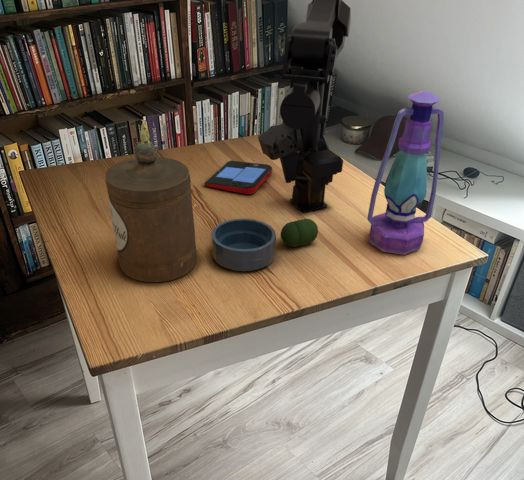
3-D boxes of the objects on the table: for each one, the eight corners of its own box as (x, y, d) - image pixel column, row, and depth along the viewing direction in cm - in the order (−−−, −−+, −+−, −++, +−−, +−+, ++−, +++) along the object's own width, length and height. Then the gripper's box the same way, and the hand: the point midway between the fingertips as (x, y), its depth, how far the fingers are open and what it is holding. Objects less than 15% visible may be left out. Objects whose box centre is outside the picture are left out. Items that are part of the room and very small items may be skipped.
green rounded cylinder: (308, 232, 119) (311, 212, 116) (320, 245, 116) (324, 224, 113) (275, 240, 116) (277, 219, 113) (286, 253, 113) (289, 232, 110)
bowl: (257, 235, 118) (258, 213, 115) (285, 264, 110) (287, 242, 107) (202, 248, 114) (201, 226, 111) (227, 279, 106) (227, 256, 102)
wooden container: (128, 240, 115) (112, 132, 101) (200, 243, 115) (194, 135, 101) (111, 281, 104) (90, 167, 90) (191, 285, 104) (183, 170, 89)
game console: (229, 164, 145) (228, 156, 143) (275, 173, 141) (275, 165, 140) (203, 186, 135) (203, 178, 133) (252, 197, 131) (252, 188, 130)
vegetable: (158, 220, 122) (148, 126, 109) (139, 217, 123) (127, 124, 109) (165, 210, 125) (156, 119, 112) (146, 208, 126) (135, 117, 113)
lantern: (414, 226, 123) (447, 80, 103) (435, 254, 114) (475, 100, 94) (355, 230, 121) (378, 81, 101) (372, 259, 112) (401, 103, 92)
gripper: (242, 98, 103) (241, 180, 113) (291, 134, 90) (286, 221, 100) (295, 91, 106) (290, 170, 117) (349, 124, 94) (339, 209, 104)
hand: (299, 192), depth 109 cm, fingers open, 9 cm apart
